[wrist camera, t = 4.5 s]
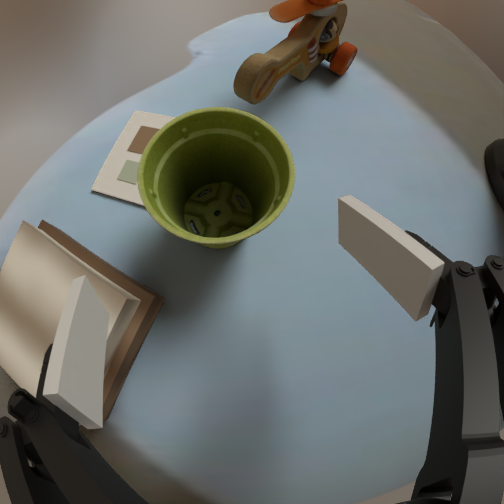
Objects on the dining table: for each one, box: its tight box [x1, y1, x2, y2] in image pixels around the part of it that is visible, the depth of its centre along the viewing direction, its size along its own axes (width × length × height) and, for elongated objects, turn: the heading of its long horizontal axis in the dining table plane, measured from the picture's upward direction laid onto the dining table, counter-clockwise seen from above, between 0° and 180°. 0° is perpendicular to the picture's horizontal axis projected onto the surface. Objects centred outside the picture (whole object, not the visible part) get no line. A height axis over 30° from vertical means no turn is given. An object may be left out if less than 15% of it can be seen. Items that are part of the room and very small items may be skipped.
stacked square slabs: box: [0, 220, 165, 431], centre depth 18 cm, size 13×13×6 cm
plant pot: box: [137, 107, 295, 249], centre depth 20 cm, size 9×9×9 cm
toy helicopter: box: [234, 0, 357, 104], centre depth 22 cm, size 8×21×14 cm, turn 145°
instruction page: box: [91, 110, 176, 206], centre depth 24 cm, size 10×7×1 cm
